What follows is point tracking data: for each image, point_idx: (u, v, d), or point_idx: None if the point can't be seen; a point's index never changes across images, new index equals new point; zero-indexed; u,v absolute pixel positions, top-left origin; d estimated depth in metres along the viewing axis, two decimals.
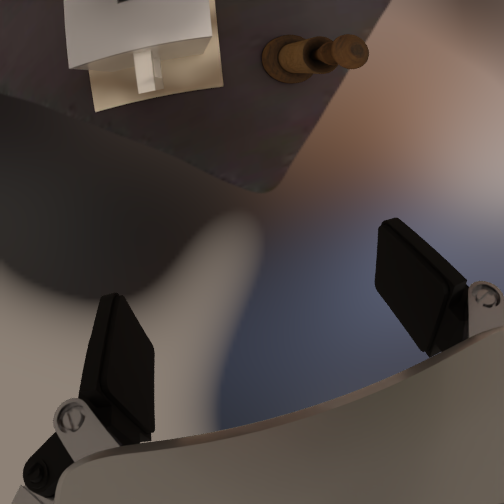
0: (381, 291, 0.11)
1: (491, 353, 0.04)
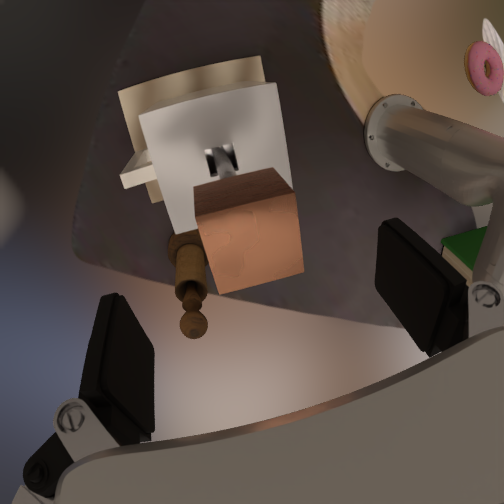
0: (381, 291, 0.11)
1: (491, 353, 0.04)
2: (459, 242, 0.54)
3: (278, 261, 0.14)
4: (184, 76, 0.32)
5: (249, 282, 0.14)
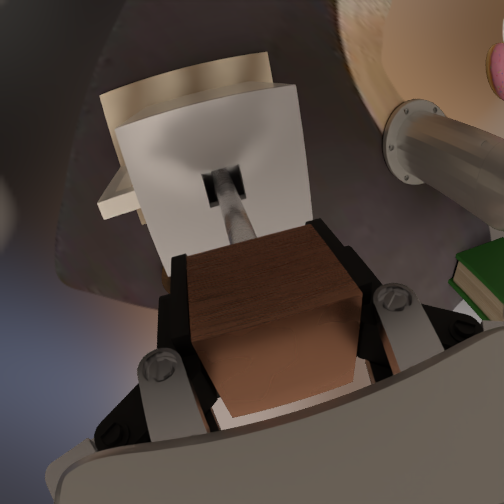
0: None
1: (491, 353, 0.04)
2: (475, 257, 0.49)
3: (320, 378, 0.08)
4: (177, 76, 0.27)
5: (276, 403, 0.09)
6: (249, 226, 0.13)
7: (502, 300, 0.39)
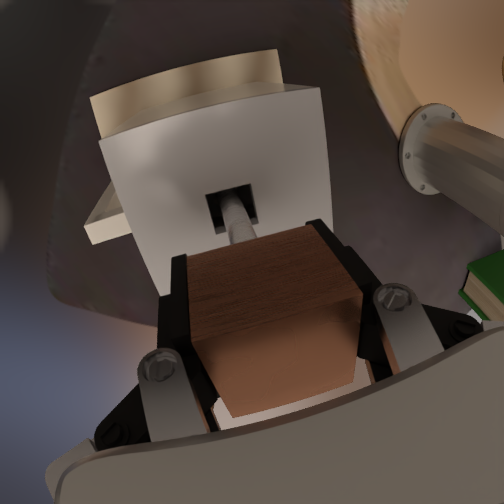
0: None
1: (491, 353, 0.04)
2: (486, 268, 0.46)
3: (320, 378, 0.08)
4: (176, 75, 0.24)
5: (276, 403, 0.09)
6: (249, 227, 0.13)
7: None
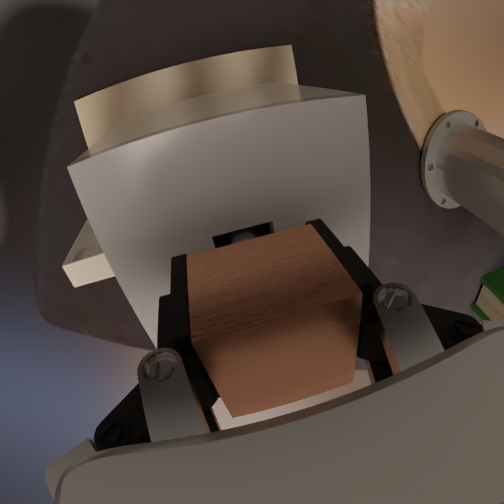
0: None
1: (491, 353, 0.04)
2: (500, 281, 0.42)
3: (320, 378, 0.08)
4: (174, 74, 0.20)
5: (276, 403, 0.09)
6: None
7: None
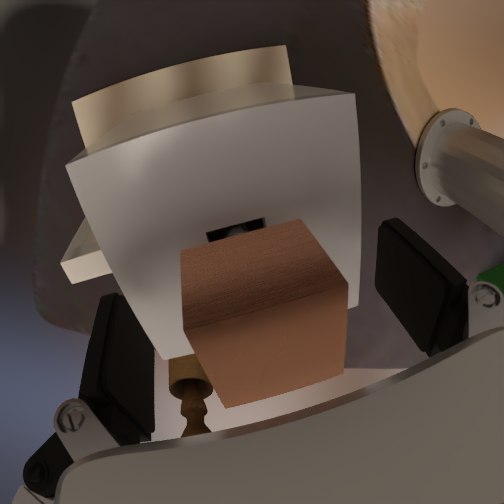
0: (381, 291, 0.11)
1: (491, 353, 0.04)
2: (497, 279, 0.43)
3: (310, 368, 0.09)
4: (170, 75, 0.21)
5: (268, 394, 0.09)
6: (242, 223, 0.14)
7: None
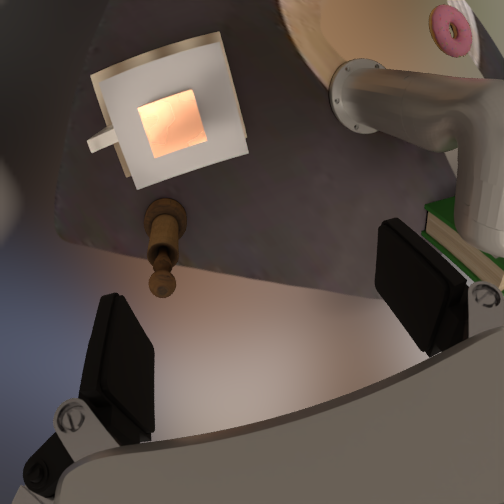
0: (381, 291, 0.11)
1: (491, 353, 0.04)
2: (444, 207, 0.54)
3: (188, 133, 0.20)
4: (149, 56, 0.32)
5: (172, 148, 0.21)
6: None
7: None
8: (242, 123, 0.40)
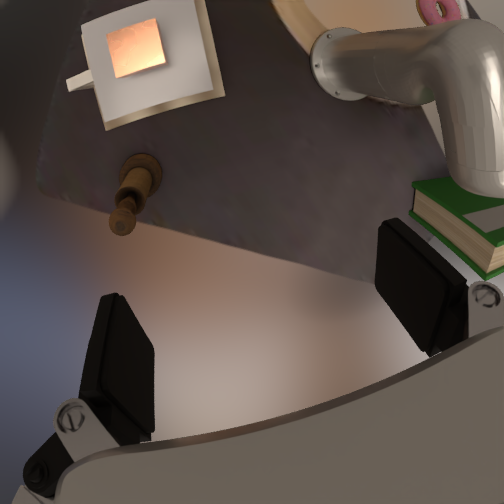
0: (381, 291, 0.11)
1: (491, 353, 0.04)
2: (432, 185, 0.53)
3: (148, 55, 0.19)
4: None
5: (132, 69, 0.19)
6: None
7: (459, 216, 0.43)
8: (221, 82, 0.39)
